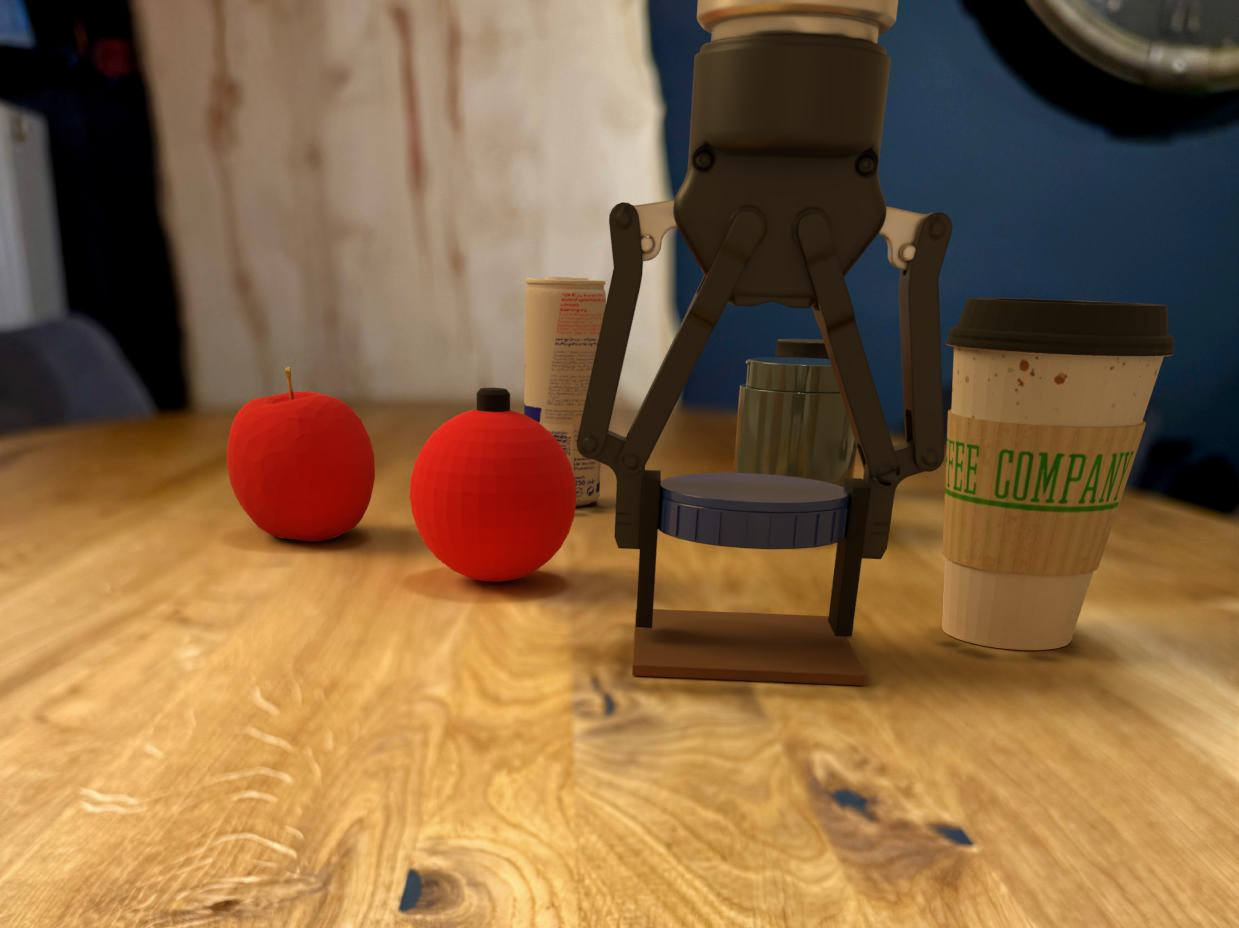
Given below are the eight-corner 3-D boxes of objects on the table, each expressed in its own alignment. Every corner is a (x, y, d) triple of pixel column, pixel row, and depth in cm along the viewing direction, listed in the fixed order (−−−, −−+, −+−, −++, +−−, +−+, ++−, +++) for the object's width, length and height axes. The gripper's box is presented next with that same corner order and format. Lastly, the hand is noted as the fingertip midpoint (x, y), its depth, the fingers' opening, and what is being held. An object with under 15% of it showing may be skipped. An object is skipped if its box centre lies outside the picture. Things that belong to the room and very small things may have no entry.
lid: (710, 507, 62) (713, 467, 61) (875, 529, 58) (880, 486, 57) (619, 531, 56) (621, 486, 55) (797, 558, 51) (802, 510, 51)
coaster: (835, 625, 63) (836, 616, 63) (864, 686, 55) (865, 674, 54) (635, 617, 64) (636, 607, 64) (631, 675, 55) (632, 664, 55)
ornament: (603, 591, 69) (610, 394, 64) (448, 605, 65) (445, 397, 61) (532, 557, 76) (534, 378, 71) (389, 569, 72) (382, 380, 68)
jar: (838, 519, 90) (857, 358, 85) (854, 541, 83) (875, 367, 78) (726, 515, 91) (738, 354, 86) (732, 537, 83) (746, 363, 79)
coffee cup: (874, 636, 62) (920, 297, 55) (942, 599, 69) (990, 296, 63) (1081, 673, 57) (1158, 307, 50) (1131, 629, 64) (1203, 305, 58)
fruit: (206, 531, 80) (189, 361, 76) (329, 517, 86) (320, 357, 81) (280, 557, 74) (266, 373, 70) (408, 540, 80) (403, 368, 75)
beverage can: (611, 499, 95) (619, 278, 88) (580, 511, 90) (586, 278, 84) (544, 492, 97) (547, 275, 90) (510, 503, 92) (511, 275, 86)
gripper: (1045, 61, 52) (954, 614, 62) (528, 48, 52) (522, 595, 62) (1103, 31, 45) (991, 657, 55) (509, 16, 46) (505, 635, 56)
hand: (741, 623), depth 59 cm, fingers closed on lid, 8 cm apart
